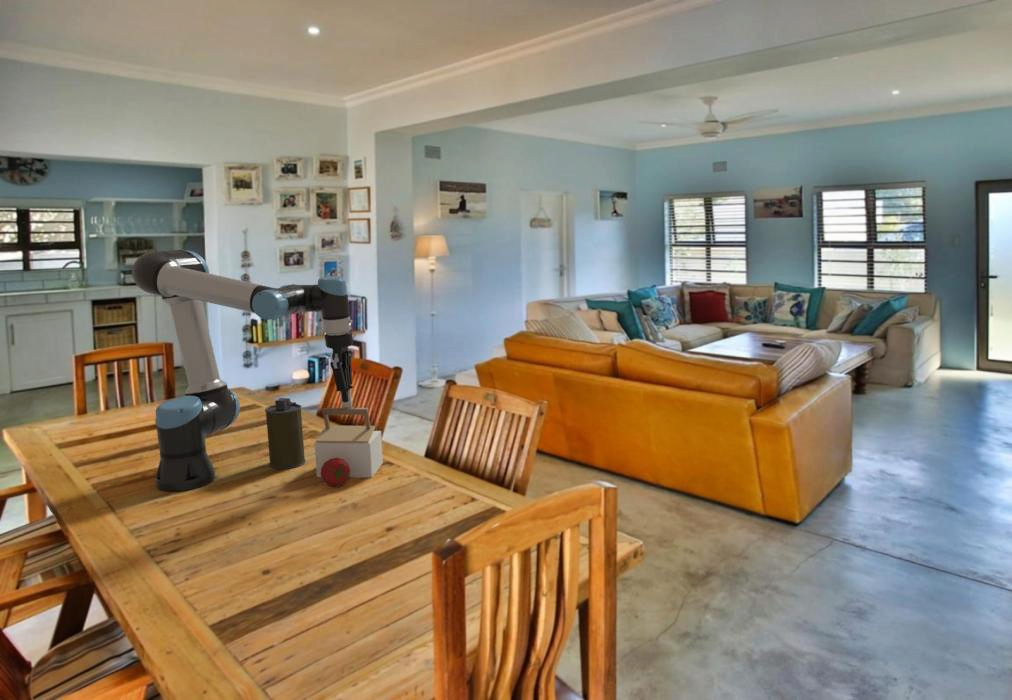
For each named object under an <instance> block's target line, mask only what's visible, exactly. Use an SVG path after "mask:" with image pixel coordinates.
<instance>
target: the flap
mask: <svg viewBox="0 0 1012 700" xmlns="http://www.w3.org/2000/svg"><path fill="white" fill-rule="evenodd" d="M369 411H370V410H369V408H368V407H353V408H342V407H323V408H322V409H321V414H322V417H323V421H324V422H323V423H324V426H323V428H322V430H321V431H320V433H319V435H318V437H317V439H316V441H315V442H326V443H369V440H370V438H371V436H372V434H373V431H375V429H376V426H375V425H371V421H370V415H369ZM329 416H363V417H364V423H365V425H331V424H330V419H329Z"/></svg>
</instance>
